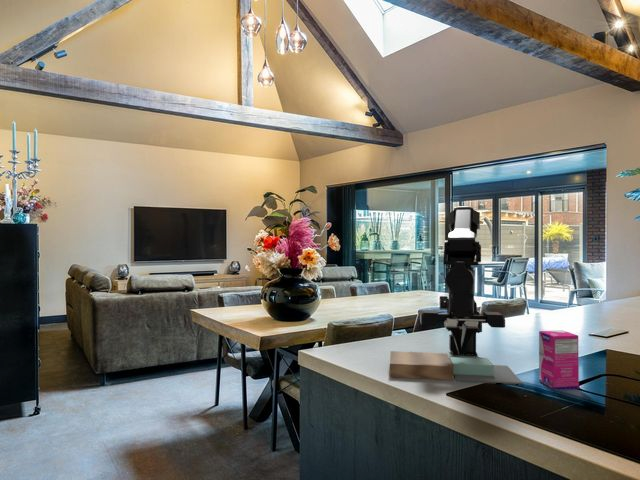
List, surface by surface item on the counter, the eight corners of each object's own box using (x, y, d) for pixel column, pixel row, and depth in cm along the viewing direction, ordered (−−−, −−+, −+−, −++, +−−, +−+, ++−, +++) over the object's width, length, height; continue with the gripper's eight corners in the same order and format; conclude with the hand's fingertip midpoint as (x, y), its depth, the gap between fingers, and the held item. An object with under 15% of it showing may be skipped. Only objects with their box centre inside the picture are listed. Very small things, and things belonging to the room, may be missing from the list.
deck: (447, 365, 114) (447, 353, 114) (453, 379, 102) (453, 366, 102) (390, 362, 116) (390, 351, 116) (390, 376, 104) (390, 363, 104)
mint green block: (487, 368, 110) (487, 358, 110) (493, 375, 104) (493, 365, 104) (449, 367, 111) (449, 357, 111) (453, 374, 105) (453, 363, 105)
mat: (507, 367, 113) (507, 365, 113) (523, 384, 99) (523, 383, 99) (448, 364, 115) (448, 362, 115) (456, 381, 101) (456, 379, 101)
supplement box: (537, 381, 101) (538, 330, 101) (563, 381, 102) (563, 329, 102) (553, 390, 96) (553, 335, 96) (580, 389, 96) (580, 335, 96)
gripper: (495, 286, 114) (494, 348, 114) (418, 284, 117) (418, 345, 117) (505, 291, 103) (505, 360, 103) (421, 289, 106) (421, 356, 106)
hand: (460, 355), depth 108 cm, fingers closed
